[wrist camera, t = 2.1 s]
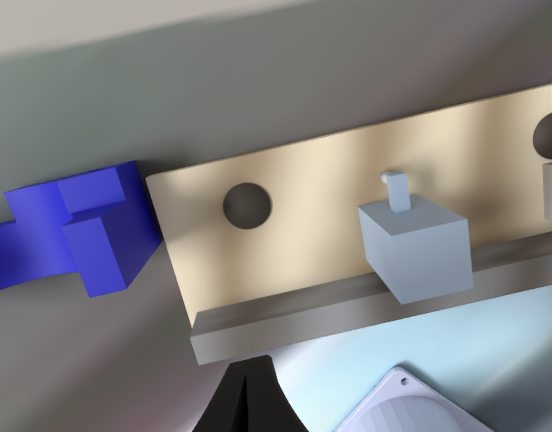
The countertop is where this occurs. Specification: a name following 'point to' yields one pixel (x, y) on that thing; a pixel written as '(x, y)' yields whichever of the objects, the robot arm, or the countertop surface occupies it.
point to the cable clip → (80, 230)
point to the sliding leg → (415, 243)
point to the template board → (354, 221)
